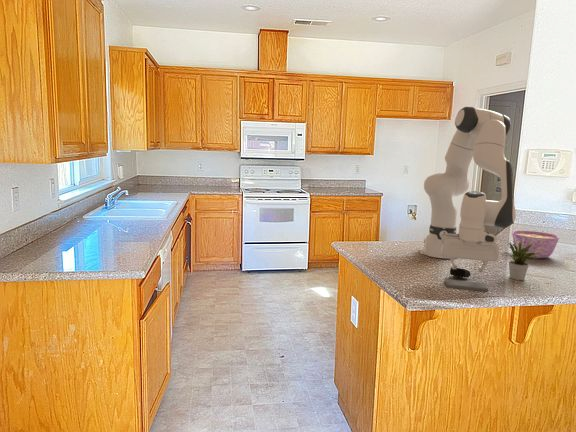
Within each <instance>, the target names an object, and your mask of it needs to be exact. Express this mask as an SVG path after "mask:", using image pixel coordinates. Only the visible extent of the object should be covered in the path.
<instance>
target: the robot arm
mask: <svg viewBox="0 0 576 432" xmlns="http://www.w3.org/2000/svg"><path fill="white" fill-rule="evenodd" d="M454 125H455V127H456V131H455V133H454V135H453V137H452V138H451V141H450V144H449V146H448V149H447V151H446V154H445V156H444V160H445V163H446V168H445V172H444V173H440V172H439V173H434V174H431V175H429V176H427V177H426V179H425V180H424V183H423V190H424V191H425V193H426V194H427V196H428V198H429V200H430V207H431V217H430V218H431V220H430V225H429V227H428V228H429V229H428V232H429V234H428V235H426V237H425V238H424V239H423V248H421V250H420V251H419V254H421V255H425V256H428V257H432V258H437V259H449V260H450V262H451V265H452V266H451V267H452V269H453V270H457V268H458V265H457V264H456V263H454V261H455V259H460V260H461V259H462V260H472V261H482V263H483V264H481V266H480V265H479V266H478V272H479V273H484V270H485V268H486V266H488V262H492V263H493V262H494V263H495V262H497V261H499V259H500V251H499V249H500V248H499V244H497V242H498V237H497V236H496V235H494V234H492V233H490V232H488V231H485V229H486V228H485V226H493V227H495V228H496V227H497V228H502V229H507V228H508V227H510V226H512V225H513V224H515V221H516V216H517V213H516V212H517V211H516V207H515V197H514V196H515V195H514V175H513V167H512V163H511V161H510V160H508V159H507V158H506V155H505V149H506V148H505V147H506V137H507V135H508V134H509V131H510V129H511V127H512V126H511V125H512V122H511V119H510V117H509V116H507V115H505V114H503V113H499V112H496V111H493V110H490V109H483V108H478V107H477V108H476V107H474V106H464V107H462V108H461V109H459V111H458V113H457V115H456V116H455V120H454ZM472 160H473V162H474V163H475V164H476V165H477V166H478V167H479V168H481V169H482V170H483V171H485V172H489V173H491V174H493V175H495V176H497V177H498V178H499V179H500V184H501V189H500V190H501V191H500V192H501V199H500V200H493V199H492V200H489V199H487V195H486V193H484V192H482V191H468V190H469V186H470V183H469V179H468V173H469V167H470V165H471V162H472ZM461 195H463V198H462V201H461V206H460V222H459V227H458V233H457V226H456V225H457V214H458V211H457V208H455V206H454V203H453V197H459V196H461Z"/></svg>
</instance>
